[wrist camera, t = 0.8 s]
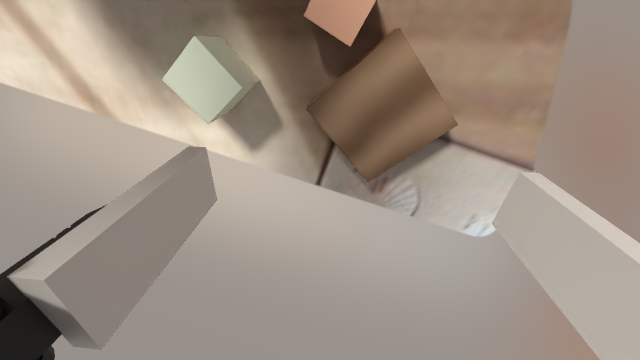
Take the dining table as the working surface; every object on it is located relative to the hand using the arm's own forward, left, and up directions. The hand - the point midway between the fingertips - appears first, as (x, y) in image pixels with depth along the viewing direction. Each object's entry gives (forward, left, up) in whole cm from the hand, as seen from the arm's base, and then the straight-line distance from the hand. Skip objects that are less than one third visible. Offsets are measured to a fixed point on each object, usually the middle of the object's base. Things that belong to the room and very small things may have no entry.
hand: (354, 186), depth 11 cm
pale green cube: (-11, -10, -22) cm, 27 cm away
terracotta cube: (-7, +5, -22) cm, 24 cm away
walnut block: (+4, +2, -22) cm, 23 cm away
